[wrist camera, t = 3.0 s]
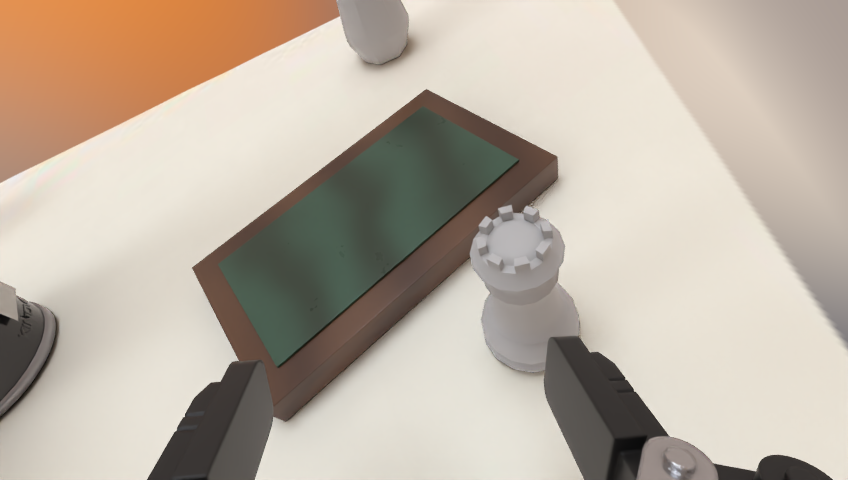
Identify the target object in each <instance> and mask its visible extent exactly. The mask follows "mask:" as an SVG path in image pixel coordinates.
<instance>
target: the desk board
mask: <svg viewBox="0 0 848 480" xmlns="http://www.w3.org/2000/svg"><path fill="white" fill-rule="evenodd" d="M557 179H558V159H557V156H555V155H553V154H551V153H549V152H547V151H545V150H543V149H541V148H540V147H538V146H536V145H534V144H532V143H530V142H528V141H526V140H524V139H522V138H520V137H518V136H516V135H514V134H512V133H510V132H508V131H507V130H505V129H503V128H501V127H499V126H497V125H495V124H493V123H491V122H489V121H487V120H485V119H483V118H481V117H479V116H477V115H475V114H473V113H472V112H470V111H468V110H466V109H464V108H462V107H460V106H458V105H456V104H454V103H452V102H450V101H448V100H446V99H444V98H442V97H440V96H439V95H437V94H435V93H433V92H431V91H429V90H427V89H426V90H425V91H423V92H422V93H421V94H419V95H418V96H417V97H415V98H414V99H413V100H411V101H410V102H409V103H407V104H406V105H405V106H404V107H402V108H401V109H400V110H398V111H397V112H396V113H394V114H393V115H392V116H390V117H389V118H388V119H386V120H385V121H384V122H383V123H381V124H380V125H379V126H377V127H376V128H375V129H373V130H372V131H371V132H369V133H368V134H367V135H365V136H364V137H363V138H362V139H360V140H359V141H358V142H356V143H355V144H354V145H352V146H351V147H350V148H348V149H347V150H346V151H345V152H343V153H342V154H341V155H339V156H338V157H337V158H335V159H334V160H333V161H331V162H330V163H329V164H327V165H326V166H325V167H324V168H322V169H321V170H320V171H318V172H317V173H316V174H314V175H313V176H312V177H310V178H309V179H308V180H306V181H305V182H304V183H303V184H301V185H300V186H299V187H297V188H296V189H295V190H293V191H292V192H291V193H289V194H288V195H287V196H285V197H284V198H283V199H282V200H280V201H279V202H278V203H276V204H275V205H274V206H272V207H271V208H270V209H268V210H267V211H266V212H264V213H263V214H262V215H261V216H259V217H258V218H257V219H255V220H254V221H253V222H251V223H250V224H249V225H247V226H246V227H245V228H243V229H242V230H241V231H240V232H238V233H237V234H236V235H234V236H233V237H232V238H230V239H229V240H228V241H226V242H225V243H224V244H222V245H221V246H220V247H219V248H217V249H216V250H215V251H213V252H212V253H211V254H209V255H208V256H207V257H205V258H204V259H203V260H202V261H200V262H199V263H198V264H196V265H195V266H194V267H192V269H193V271H194V273H195V275H196V277H197V279H198V281H199V283H200V285H201V287H202V288H203V290H204V292H205V294H206V296H207V298H208V300H209V302H210V304H211V306H212V308H213V310H214V312H215V314H216V316H217V318H218V320H219V322H220V324H221V326H222V328H223V330H224V332H225V334H226V336H227V338H228V340H229V342H230V344H231V346H232V348H233V350H234V352H235V354H236V356H237V358H238V360H239V361H249V360H262V361H263V362H264V365H265V369H266V374H267V379H268V383H269V388H270V392H271V397H272V401H273V416H274V417H276V418H278V419H281V420H283V421H285V422H286V421H287V420H288V419H289V418H290V417H292V416H293V415H294V414H295V413H296V412H297V411H298V410H299V409H301V408H302V407H303V406H304V405H305V404H306V403H307V402H308V401H309V400H311V399H312V398H313V397H314V396H315V395H316V394H317V393H318V392H320V391H321V390H322V389H323V388H324V387H325V386H326V385H327V384H328V383H330V382H331V381H332V380H333V379H334V378H335V377H336V376H337V375H339V374H340V373H341V372H342V371H343V370H344V369H345V368H346V367H347V366H349V365H350V364H351V363H352V362H353V361H354V360H355V359H356V358H358V357H359V356H360V355H361V354H362V353H363V352H364V351H365V350H366V349H368V348H369V347H370V346H371V345H372V344H373V343H374V342H375V341H377V340H378V339H379V338H380V337H381V336H382V335H383V334H384V333H385V332H387V331H388V330H389V329H390V328H391V327H392V326H393V325H394V324H396V323H397V322H398V321H399V320H400V319H401V318H402V317H403V316H404V315H406V314H407V313H408V312H409V311H410V310H411V309H412V308H413V307H415V306H416V305H417V304H418V303H419V302H420V301H421V300H422V299H423V298H425V297H426V296H427V295H428V294H429V293H430V292H431V291H432V290H434V289H435V288H436V287H437V286H438V285H439V284H440V283H441V282H442V281H444V280H445V279H446V278H447V277H448V276H449V275H450V274H451V273H453V272H454V271H455V270H456V269H457V268H458V267H459V266H460V265H461V264H463V263H464V262H465V261H466V260H467V259H468V258H469V257H470V250H471V246H472V243H473V239H474V238H475V236H476V235H477V234H478V232H479V231H480V230H479V227H478V226H479V224H480V223H481V222H482V220H483V219H484V218H485V217H486V216H487V217H489V218H490V219H492V221H493V220H494V219H496V218H497V217H499V212H498V208H501V207H505V206H509V205H512V210H513V213H520V212H521V211H522V210H523V209H524V208H525V206H527V205H529V204H530V203H531V202H532V201H533V200H534V199H535V198H536V197H538V196H539V195H540V194H541V193H542V192H543V191H544V190H545V189H546V188H548V187H549V186H550V185H551V184H552V183H553V182H554V181H555V180H557Z"/></svg>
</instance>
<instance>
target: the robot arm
mask: <svg viewBox="0 0 848 480" xmlns="http://www.w3.org/2000/svg"><path fill="white" fill-rule="evenodd" d="M55 332H56V322H55V318H54V315H53V314H52V312H51V311H50V310H49V309H47V308H45V307H43V306H41V305H39V304H36V303H34V302H28V301H26V300H25V299H23V298H21V297H19V296H16V292H15V288H13V287H11V286H9V285H7V284H4V283H2V282H0V416H1V415H2V414H4V413H5V412H6V411H7V410H8V409H9V408H10V407H11V406H12V405H13V404H14V403H15V402H16V401H17V400H18V399H19V398H20V397H21V395H22V394H23V393H24V392H25V391H26V389H27V388H28V387H29V386H30V384H31V383H32V382H33V380H34V379H35V377H36V376H37V374H38V373H39V371H40V370H41V368H42V366H43V365H44V363H45V361H46V359H47V357H48V355H49V352H50V350H51V347H52V344H53V341H54V337H55ZM544 388H545V394H546V398H547V401H548V404H549V406H550V408H551V410H552V412H553V414H554V416H555V418H556V421H557V423H558V425H559V427H560V429H561V431H562V433H563V435H564V438H565V440H566V442H567V444H568V446H569V448H570V450H571V452H572V454H573V457H574V459H575V461H576V463H577V465H578V467H579V469H580V471H581V474H582V476H583V478H584V480H833V479H831V478H830V477H829V476H828V475H826V474H825V473H824V472H822V471H820V470H819V469H817V468H816V467H814V466H812V465H810V464H808V463H806V462H804V461H801V460H798V459H796V458H792V457H788V456H783V455H771V456H767V457H765V458H763V459H762V460H761V461H760V463H759V466H758V468H757V471H756V472H755V471H750V470H745V469H739V468H734V467H729V466H723V465H718V464H714V463H712V462H711V460H710V459H709V458H708V457H707V456H706V455H705V454H704V453H703V452H702V451H700V450H699V449H698V448H696V447H695V446H693V445H691V444H689V443H688V442H685V441H683V440H680V439H677V438H673V437H670V436H669V435H668V434H667V433H666V431H665V430H664V429H663V427H662V426H661V425H660V423H659V422H658V421H657V419H656V418H655V417H654V415H653V414H652V413H651V411H650V410H649V409H648V407H647V406H646V405H645V403H644V402H643V401H642V399H641V398H640V397H639V395H638V394H637V393H636V392H634V389H633V387H632V386H631V385H630V384H629V382H628V381H627V380H625V377H624V376H623V374H622V373H621V372H620V370H619V369H618V368H617V366H616V365H615V364H614V363H613V362H612V361H610V360H609V359H607V358H606V357H605V356H603V355H602V354H600V353H599V352H591V353H590V352H589V351H588V349H587V348H586V346H585V345H584V343H583V342H582V341H581V339H580V338H579V337H578V336H576V335H574V336H560V337H550V338H549V340H548V345H547V355H546V365H545V375H544ZM272 422H273V401H272V397H271V392H270V388H269V383H268V379H267V374H266V369H265V365H264V362H263V361H262V360H249V361H235V362H232V363H231V364H230V365H229V367H228V369H227V371H226V373H225V375H224V377H223V378H222V380H221V382H214V383H210V384H209V385H208V386H207V387H206V388H205V389H204V390H202V391H201V392H200V393H199V394H198V395H197V396H196V397H195V398H194V400H193V401H192V403H191V405H190V406H189V408H188V410H187V412H186V413H185V417H183V419H182V420H181V422H180V424H179V425H178V427H177V431H176V432H174V434H173V436H172V438H171V439H170V441H169V443H168V444H167V446H166V448H165V450H164V451H163V453H162V455H161V457H160V458H159V460H158V462H157V463H156V465H155V467H154V469H153V470H152V472H151V474H150V476H149V477H148V479H147V480H255V477H256V473H257V470H258V467H259V464H260V461H261V458H262V455H263V452H264V449H265V445H266V442H267V439H268V436H269V433H270V430H271V426H272Z"/></svg>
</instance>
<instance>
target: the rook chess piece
mask: <svg viewBox="0 0 848 480" xmlns="http://www.w3.org/2000/svg"><path fill="white" fill-rule="evenodd" d="M498 212H499V217H497V218H496V219H494V220H493V221H492V219H490V218H489V217H487V216H486V217H485V218H484V219H483V220H482V222H481V223H480V224H479V226H478V227H479V230H480V231H479V232H478V234H477V235H476V236H475V238H474V239H473V243H472V246H471V250H470V258H471V262H472V267H473V269H474V271H475V272H476V273H477V274H478V276H479V277H480V278H481V279H482V281H484V282H485V286H486V288H487V289H488V290H489V291H490V295H489V296H488V297H487V299H486V300H485V304H484V309H483V313H482V318H481V321H482V326H483V331H484V335H485V340H486V344H487V345H488V347H489V348H490V350H491V351H492V353H493V354H494V355H495V357H496V358H497V359H498V360H500V361H501V362H503V363H505V364H506V365H508V366H509V367H511V368H512V369H516V370H521V371H527V372H532V373H534V372H539V371H544V370H545V365H546V355H547V345H548V340H549V338H550V337H560V336H574V335H576V336H578V337H579V330H580V322H579V319H578V318H579V315H578V312H577V310H576V307H575V304H574V301H573V299H572V297H571V296H570V295H569V294H568V293H567V292H566V291H565V290H564V289H563V288H562V287H561V286H560V284H559V283H557V281H558V273H559V267H560V266H561V264H562V263H563V258H564V250H565V245H564V242H563V240H562V237H561V234H560V232H559V231H558V230H557V229H556V228H555V227H554V226H553V225H552V224H551V223H550V222H549V220H548V219H547V220H546V219H543V218H540V217H539V210H537V209H534V208H531V207H529V206H525V209H524V211H523V213H513V210H512V205H509V206H505V207H501V208H498Z"/></svg>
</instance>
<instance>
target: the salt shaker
mask: <svg viewBox="0 0 848 480" xmlns="http://www.w3.org/2000/svg"><path fill="white" fill-rule="evenodd" d="M336 1H337V4H338V9H339V13H340V17H341V21H342V25H343V29H344V33H345V36H346V39H347V42H348V43H349V45H350V47H351V48H352V49H353V50H354V51H355V52H356V53H357V54H358V55H359V56H360V57H361V58H362V59H363V60H364V61H365V62H368V63H374V64H383V63H385V62H388V61H390V60H392V59H394V58H397V57H399V56H400V54H401V53H402V51H403V50H404V48H405V46H406V45H407V38H408V27H409V17H408V13H407V12H406V10H405V8H404V6H403V4H402V2H401V0H336Z"/></svg>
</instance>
